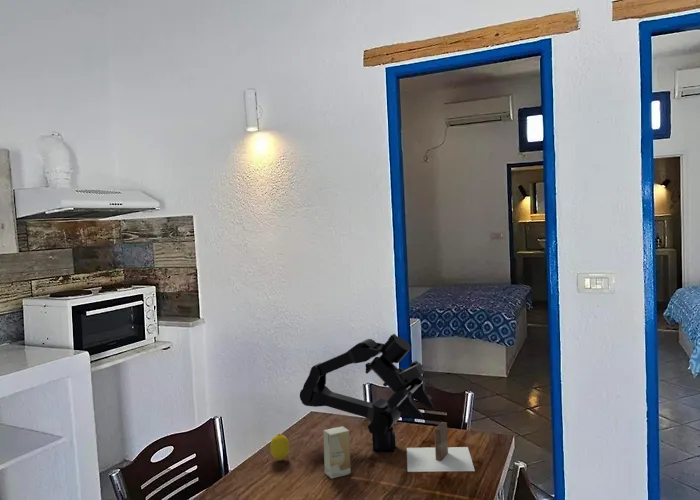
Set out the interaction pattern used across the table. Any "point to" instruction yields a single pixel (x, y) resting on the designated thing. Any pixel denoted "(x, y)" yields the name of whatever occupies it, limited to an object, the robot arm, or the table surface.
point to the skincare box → (337, 452)
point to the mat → (427, 461)
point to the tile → (441, 441)
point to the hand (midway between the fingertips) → (427, 412)
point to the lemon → (279, 447)
